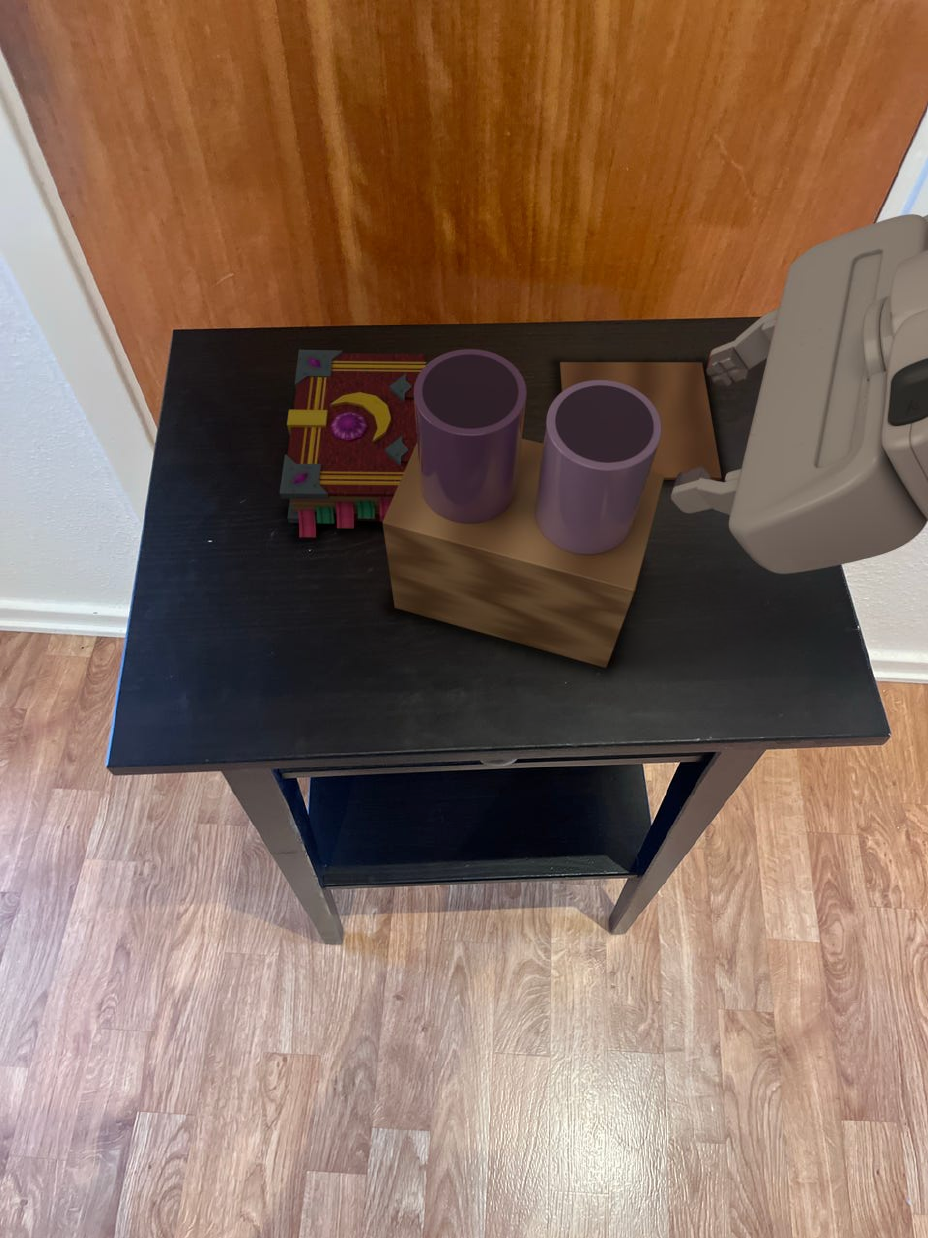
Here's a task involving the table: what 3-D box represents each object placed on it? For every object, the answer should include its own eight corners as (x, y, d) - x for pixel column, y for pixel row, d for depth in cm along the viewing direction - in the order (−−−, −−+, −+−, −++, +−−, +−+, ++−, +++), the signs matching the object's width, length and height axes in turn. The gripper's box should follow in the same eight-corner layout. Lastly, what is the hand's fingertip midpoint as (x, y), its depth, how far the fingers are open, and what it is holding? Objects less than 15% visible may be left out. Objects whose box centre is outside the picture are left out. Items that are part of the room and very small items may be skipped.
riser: (633, 564, 69) (665, 473, 59) (606, 668, 65) (634, 591, 54) (433, 511, 71) (428, 414, 61) (394, 608, 67) (382, 522, 57)
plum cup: (537, 483, 58) (550, 390, 50) (469, 541, 56) (470, 454, 48) (468, 428, 60) (469, 331, 52) (399, 483, 58) (390, 389, 50)
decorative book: (431, 387, 78) (429, 346, 73) (425, 538, 70) (423, 503, 66) (305, 386, 78) (296, 345, 73) (286, 536, 70) (275, 501, 66)
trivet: (701, 365, 79) (702, 361, 79) (720, 480, 73) (721, 477, 73) (559, 364, 79) (560, 361, 79) (567, 480, 73) (568, 477, 73)
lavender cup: (654, 512, 57) (686, 422, 49) (588, 573, 55) (610, 489, 47) (579, 456, 59) (598, 361, 51) (513, 512, 57) (522, 422, 49)
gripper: (958, 144, 41) (704, 266, 51) (921, 469, 32) (621, 539, 42) (1002, 245, 45) (755, 340, 55) (980, 565, 35) (689, 609, 45)
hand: (696, 429), depth 48 cm, fingers open, 8 cm apart
